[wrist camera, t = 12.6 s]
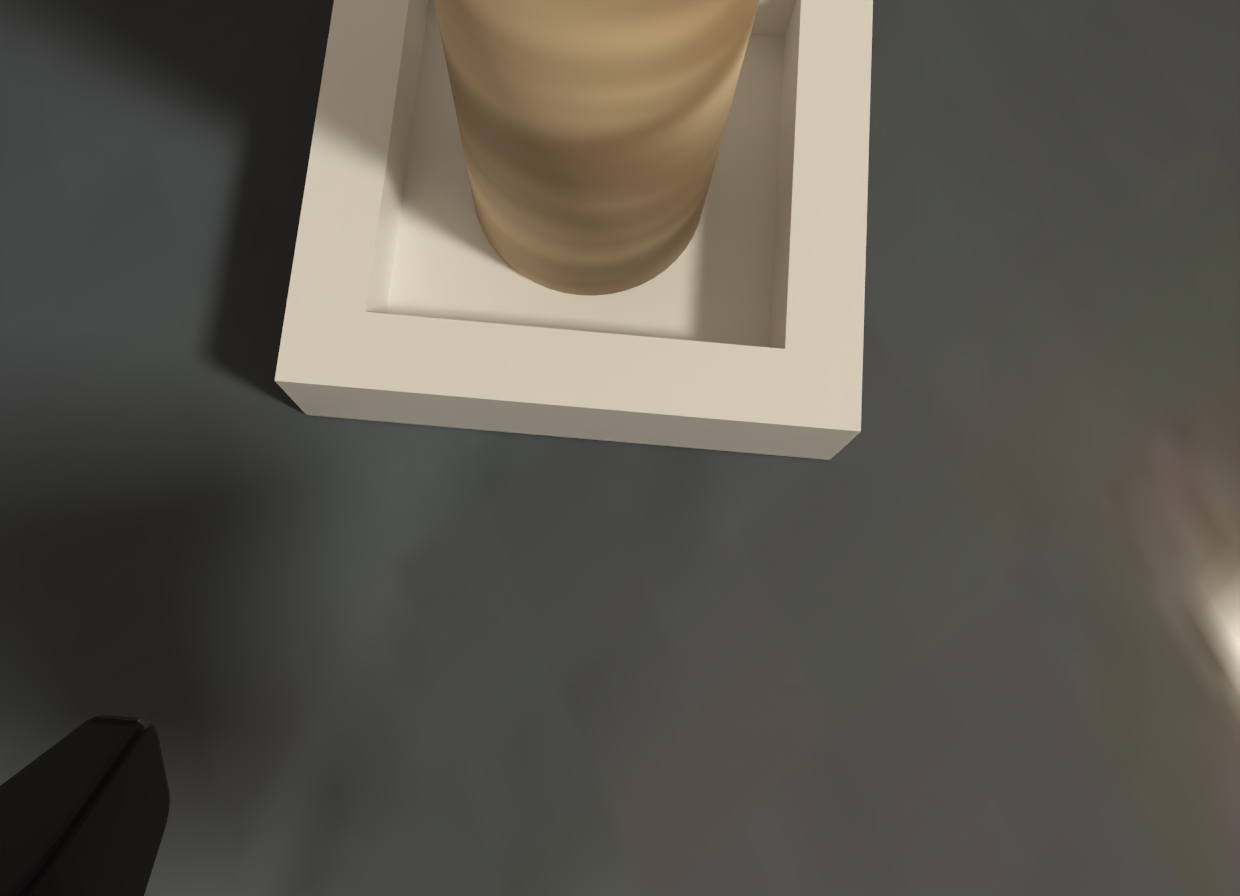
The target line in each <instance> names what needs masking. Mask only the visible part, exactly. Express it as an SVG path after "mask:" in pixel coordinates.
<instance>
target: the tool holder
mask: <svg viewBox="0 0 1240 896" xmlns="http://www.w3.org/2000/svg"><path fill="white" fill-rule="evenodd" d="M872 16H873V0H760V1H759V4H758V8H757V12H756V15H755V19H754V23H753V26H752V30H751V34H750V38H749V41H748V45H747V49H746V52H745V56H744V60H743V63H742V67H741V71H740V74H739V78H738V82H737V86H736V89H735V93H734V97H733V100H732V104H731V108H730V111H729V115H728V119H727V122H726V126H725V130H724V134H723V137H722V141H721V145H720V148H719V152H718V156H717V159H716V163H715V167H714V170H713V174H712V178H711V182H710V185H709V189H708V193H707V196H706V200H705V204H704V207H703V211H702V215H701V218H700V222H699V225H698V227H697V229H696V231H695V234H694V236H693V238H692V239H691V241H690V243H689V244H688V246H687V247H686V249H685V250H684V251H683V253H682V254H681V255H680V256H679V257H678V259H677V260H676V261H675V262H674V263H673V264H671V265H670V266H669V267H668V268H667V269H666V270H665V271H663V272H662V273H660V274H659V275H658V276H656V277H655V278H653V279H651V280H649V281H647V282H646V283H644V284H642V285H640V286H637V287H634V288H631V289H629V290H626V291H622V292H617V293H613V294H606V295H596V296H590V295H575V294H568V293H562V292H559V291H555V290H552V289H548V288H546V287H544V286H541V285H539V284H537V283H534V282H533V281H531V280H529V279H527V278H526V277H524V276H522V275H521V274H519V273H518V272H517V271H516V270H514V269H513V268H512V267H510V266H509V265H508V264H507V263H506V262H505V261H504V260H503V259H502V258H501V257H500V256H499V255H498V254H497V252H496V251H495V250H494V248H493V247H492V246H491V244H490V243H489V241H488V239H487V238H486V236H485V234H484V232H483V231H482V228H481V226H480V223H479V221H478V218H477V214H476V210H475V206H474V201H473V196H472V191H471V186H470V181H469V176H468V171H467V166H466V161H465V156H464V151H463V146H462V140H461V135H460V130H459V125H458V120H457V115H456V110H455V105H454V100H453V95H452V90H451V85H450V80H449V74H448V69H447V64H446V59H445V54H444V49H443V44H442V39H441V34H440V29H439V24H438V19H437V13H436V8H435V3H434V0H334V4H333V10H332V16H331V23H330V29H329V35H328V42H327V48H326V55H325V61H324V67H323V74H322V80H321V87H320V93H319V99H318V106H317V112H316V119H315V125H314V131H313V138H312V144H311V150H310V157H309V163H308V170H307V176H306V182H305V189H304V195H303V202H302V208H301V214H300V221H299V227H298V234H297V240H296V246H295V253H294V259H293V265H292V272H291V278H290V285H289V291H288V297H287V304H286V310H285V317H284V323H283V329H282V336H281V342H280V349H279V355H278V361H277V368H276V374H275V380H274V381H275V382H276V383H277V384H278V385H279V386H280V387H281V388H282V389H283V390H284V391H285V392H286V394H287V395H288V396H289V397H290V398H291V399H292V400H293V401H294V402H295V403H296V404H297V405H298V406H299V407H300V408H301V410H302V411H303V412H304V413H305V414H306V415H314V416H326V417H338V418H349V419H361V420H373V421H384V422H396V423H408V424H419V425H431V426H442V427H454V428H466V429H477V430H489V431H501V432H512V433H524V434H536V435H547V436H559V437H570V438H582V439H594V440H605V441H617V442H629V443H640V444H652V445H664V446H675V447H687V448H699V449H710V450H722V451H733V452H745V453H757V454H768V455H780V456H792V457H803V458H815V459H827V460H830V459H831V458H832V457H834V456H835V455H836V454H837V453H838V452H839V451H840V450H841V449H842V448H843V447H844V446H846V445H847V444H848V443H849V442H850V441H851V440H852V439H853V438H854V437H855V436H856V435H857V434H859V433H860V432H861V403H862V368H863V333H864V298H865V263H866V227H867V192H868V157H869V122H870V87H871V51H872Z"/></svg>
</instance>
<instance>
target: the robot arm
mask: <svg viewBox="0 0 1240 896" xmlns="http://www.w3.org/2000/svg"><path fill="white" fill-rule="evenodd" d="M169 803H170V796H169V788H168V783H167V778H166V773H165V768H164V763H163V758H162V753H161V748H160V742H159V737H158V733H157V730H156V727H155V726H154V725H153V723H152V722H150V721H149V720H146V719H144V718H132V717H119V716H97V717H94V718H92V719H90V720H87V721H86V722H84V723H83V724H82V725H80V726H79V727H78V728H76V729H75V730H74V731H72V732H71V733H70V734H68V735H67V736H66V737H64V738H63V739H62V740H60V741H59V742H58V743H56V744H55V745H54V746H53V747H51V748H50V749H49V750H47V751H46V752H45V753H43V754H42V755H41V756H39V757H38V758H37V759H35V760H34V761H33V762H31V763H30V764H29V765H27V766H26V767H25V768H24V769H22V770H21V771H20V772H18V773H17V774H16V775H14V776H13V777H12V778H10V779H9V780H8V781H6V782H5V783H4V784H2V785H1V786H0V896H144V894H145V891H146V888H147V884H148V881H149V878H150V875H151V872H152V868H153V865H154V862H155V859H156V856H157V852H158V849H159V846H160V843H161V840H162V836H163V833H164V830H165V826H166V823H167V818H168V813H169Z"/></svg>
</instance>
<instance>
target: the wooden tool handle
mask: <svg viewBox="0 0 1240 896" xmlns="http://www.w3.org/2000/svg"><path fill="white" fill-rule="evenodd" d="M759 1H760V0H434V3H435V8H436V13H437V19H438V24H439V29H440V34H441V39H442V44H443V49H444V54H445V59H446V64H447V69H448V74H449V80H450V85H451V90H452V95H453V100H454V105H455V110H456V115H457V120H458V125H459V130H460V135H461V140H462V146H463V151H464V156H465V161H466V166H467V171H468V176H469V181H470V186H471V191H472V196H473V201H474V206H475V210H476V214H477V218H478V221H479V223H480V226H481V228H482V231H483V232H484V234H485V236H486V238H487V239H488V241H489V243H490V244H491V246H492V247H493V248H494V250H495V251H496V252H497V254H498V255H499V256H500V257H501V258H502V259H503V260H504V261H505V262H506V263H507V264H508V265H509V266H510V267H512V268H513V269H514V270H516V271H517V272H518V273H519V274H521V275H522V276H524V277H526V278H527V279H529V280H531V281H533V282H534V283H537V284H539V285H541V286H544V287H546V288H548V289H552V290H555V291H559V292H562V293H568V294H575V295H590V296H596V295H606V294H613V293H617V292H622V291H626V290H629V289H631V288H634V287H637V286H640V285H642V284H644V283H646V282H647V281H649V280H651V279H653V278H655V277H656V276H658V275H659V274H660V273H662V272H663V271H665V270H666V269H667V268H668V267H669V266H670V265H671V264H673V263H674V262H675V261H676V260H677V259H678V257H679V256H680V255H681V254H682V253H683V251H684V250H685V249H686V247H687V246H688V244H689V243H690V241H691V239H692V238H693V236H694V234H695V231H696V229H697V227H698V225H699V222H700V218H701V215H702V211H703V207H704V204H705V200H706V196H707V193H708V189H709V185H710V182H711V178H712V174H713V170H714V167H715V163H716V159H717V156H718V152H719V148H720V145H721V141H722V137H723V134H724V130H725V126H726V122H727V119H728V115H729V111H730V108H731V104H732V100H733V97H734V93H735V89H736V86H737V82H738V78H739V74H740V71H741V67H742V63H743V60H744V56H745V52H746V49H747V45H748V41H749V38H750V34H751V30H752V26H753V23H754V19H755V15H756V12H757V8H758V4H759Z"/></svg>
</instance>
